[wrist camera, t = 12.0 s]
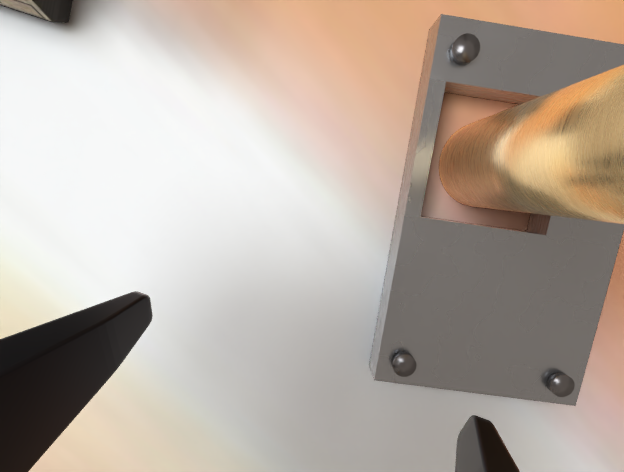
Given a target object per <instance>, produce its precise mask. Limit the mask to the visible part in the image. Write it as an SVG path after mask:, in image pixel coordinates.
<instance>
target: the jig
mask: <svg viewBox="0 0 624 472" xmlns="http://www.w3.org/2000/svg"><path fill="white" fill-rule="evenodd" d="M621 65H624V45H623V44H617V43H611V42H605V41H599V40H593V39H587V38H581V37H575V36H569V35H563V34H557V33H551V32H545V31H539V30H533V29H527V28H521V27H515V26H509V25H503V24H497V23H491V22H485V21H479V20H473V19H467V18H461V17H455V16H449V15H443V14H441V15H440V16H439V18H438V19H437V20H436V22H435V23H434V24H433V26H432V27H431V28H430V29H429V34H428V40H427V46H426V51H425V57H424V62H423V68H422V73H421V79H420V84H419V90H418V96H417V101H416V107H415V112H414V118H413V123H412V129H411V135H410V140H409V146H408V151H407V157H406V162H405V168H404V174H403V179H402V185H401V190H400V196H399V201H398V207H397V213H396V218H395V224H394V229H393V235H392V240H391V246H390V251H389V257H388V263H387V268H386V274H385V279H384V285H383V290H382V296H381V302H380V307H379V313H378V318H377V324H376V329H375V335H374V341H373V346H372V352H371V357H370V363H369V366H370V369H371V372H372V375H373V378H374V380H378V381H386V382H394V383H401V384H409V385H417V386H425V387H433V388H440V389H448V390H456V391H464V392H472V393H480V394H487V395H495V396H503V397H511V398H519V399H527V400H534V401H542V402H550V403H558V404H566V405H574V406H576V402H577V398H578V395H579V391H580V387H581V384H582V380H583V376H584V373H585V369H586V365H587V362H588V358H589V355H590V351H591V347H592V344H593V340H594V336H595V333H596V329H597V325H598V322H599V318H600V315H601V311H602V307H603V304H604V300H605V296H606V293H607V289H608V285H609V282H610V278H611V274H612V271H613V267H614V264H615V260H616V256H617V253H618V249H619V245H620V242H621V238H622V234H623V231H624V224H620V223H611V222H602V221H594V220H585V219H576V218H568V217H559V216H550V215H542V214H533V213H531V215H530V220H529V224H528V228H527V232H526V231H520V230H513V229H506V228H499V227H492V226H485V225H478V224H471V223H464V222H458V221H451V220H444V219H437V218H430V217H423V216H421V212H422V206H423V201H424V196H425V191H426V185H427V180H428V175H429V170H430V164H431V159H432V154H433V149H434V143H435V138H436V133H437V127H438V122H439V117H440V112H441V106H442V101H443V96H444V92H446V93H452V94H458V95H465V96H471V97H477V98H484V99H490V100H496V101H503V102H509V103H515V104H523V103H525V102H528V101H531V100H533V99H536V98H538V97H541V96H544V95H546V94H549V93H551V92H554V91H557V90H559V89H562V88H564V87H567V86H570V85H572V84H575V83H577V82H580V81H583V80H585V79H588V78H590V77H593V76H596V75H598V74H601V73H603V72H606V71H608V70H611V69H614V68H616V67H619V66H621Z"/></svg>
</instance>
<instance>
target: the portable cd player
mask: <svg viewBox="0 0 624 472" xmlns="http://www.w3.org/2000/svg"><path fill="white" fill-rule="evenodd" d="M72 1H73V0H0V5H2V6H5V7H8V8H11V9H14V10H17V11H20V12H23V13H26V14H29V15H32V16H35V17H38V18H41V19H44V20H47V21H51V22H68V21H69V16H70V11H71V6H72Z"/></svg>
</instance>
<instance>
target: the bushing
mask: <svg viewBox="0 0 624 472" xmlns="http://www.w3.org/2000/svg"><path fill="white" fill-rule="evenodd" d="M439 174H440V179H441V182H442V184H443V186H444V188H445V190H446V191H447V193H448V194H449V195H450V196H451V197H452V198H453V199H455V200H456V201H458V202H459V203H462V204H464V205H467V206H473V207H481V208H490V209H498V210H507V211H516V212H524V213H533V214H542V215H550V216H559V217H568V218H576V219H585V220H594V221H602V222H611V223H620V224H624V65H621V66H619V67H616V68H614V69H611V70H608V71H606V72H603V73H601V74H598V75H596V76H593V77H590V78H588V79H585V80H583V81H580V82H577V83H575V84H572V85H570V86H567V87H564V88H562V89H559V90H557V91H554V92H551V93H549V94H546V95H544V96H541V97H538V98H536V99H533V100H531V101H528V102H525V103H523V104H520V105H518V106H515V107H512V108H510V109H507V110H505V111H502V112H499V113H497V114H494V115H492V116H489V117H486V118H484V119H481V120H479V121H476V122H473V123H471V124H468V125H466V126H464V127H462V128H460V129H459V130H458V131H456V132H455V133H454V134H453V135H452V136H451V137H450V138H449V139H448V141H447V142H446V144H445V145H444V148H443V150H442V152H441V155H440V160H439Z"/></svg>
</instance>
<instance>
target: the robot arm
mask: <svg viewBox="0 0 624 472" xmlns="http://www.w3.org/2000/svg"><path fill="white" fill-rule="evenodd" d="M151 320H152V309H151V302H150V298H149V296H148V295H146V294H143V293H140V292H131V293H128V294H126V295H123V296H120V297H117V298H114V299H112V300H109V301H106V302H103V303H100V304H98V305H95V306H92V307H89V308H87V309H84V310H81V311H78V312H75V313H73V314H70V315H67V316H64V317H61V318H59V319H56V320H53V321H50V322H47V323H45V324H42V325H39V326H36V327H33V328H31V329H28V330H25V331H22V332H19V333H17V334H14V335H11V336H8V337H5V338H3V339H0V472H28V471H29V470H30V469H31V468H32V467H33V466H34V464H35V463H36V462H37V461H38V460H39V459H40V457H41V456H42V455H43V454H44V453H45V452H46V451H47V449H48V448H49V447H50V446H51V445H52V444H53V442H54V441H55V440H56V439H57V438H58V437H59V436H60V434H61V433H62V432H63V431H64V430H65V429H66V428H67V426H68V425H69V424H70V423H71V422H72V421H73V419H74V418H75V417H76V416H77V415H78V414H79V413H80V411H81V410H82V409H83V408H84V407H85V406H86V404H87V403H88V402H89V401H90V400H91V399H92V398H93V396H94V395H95V394H96V393H97V392H98V391H99V390H100V388H101V387H102V386H103V385H104V384H105V383H106V381H107V380H108V379H109V378H110V377H111V376H112V374H113V373H114V372H115V371H116V370H117V368H118V367H119V366H120V364H121V363H122V362H123V360H124V359H125V358H126V356H127V355H128V354H129V352H130V351H131V349H132V348H133V347H134V345H135V344H136V342H137V341H138V340H139V338H140V337H141V335H142V334H143V333H144V331H145V330H146V328H147V327H148V326H149V324H150V322H151ZM455 472H520V471H519V469H518V468H517V466H516V464H515V462H514V460H513V459H512V457H511V455H510V453H509V452H508V450H507V448H506V446H505V444H504V443H503V441H502V439H501V437H500V436H499V434H498V432H497V430H496V428H495V427H494V425H493V424H492V423H491V422H490V421H489V420H486V419H484V418H481V417H478V416H475V415H473V416H471V417H470V418H469V420H468V421H467V423H466V424H465V426H464V427H463V428H462V430H461V431H460V433H459V436H458V440H457V451H456V466H455Z"/></svg>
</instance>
